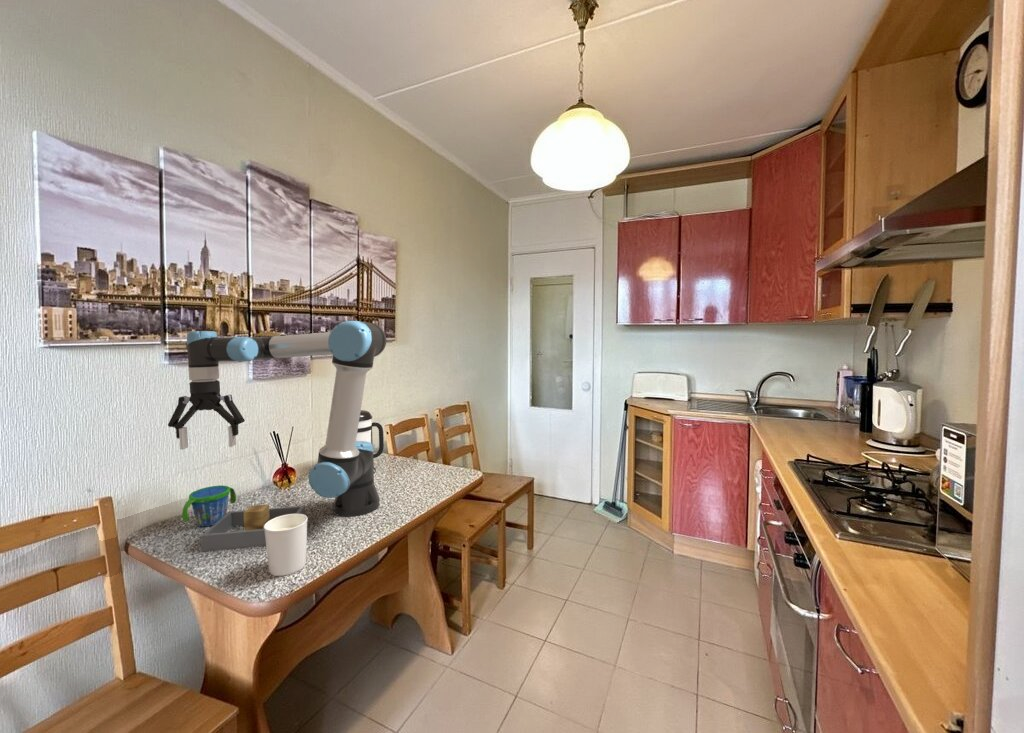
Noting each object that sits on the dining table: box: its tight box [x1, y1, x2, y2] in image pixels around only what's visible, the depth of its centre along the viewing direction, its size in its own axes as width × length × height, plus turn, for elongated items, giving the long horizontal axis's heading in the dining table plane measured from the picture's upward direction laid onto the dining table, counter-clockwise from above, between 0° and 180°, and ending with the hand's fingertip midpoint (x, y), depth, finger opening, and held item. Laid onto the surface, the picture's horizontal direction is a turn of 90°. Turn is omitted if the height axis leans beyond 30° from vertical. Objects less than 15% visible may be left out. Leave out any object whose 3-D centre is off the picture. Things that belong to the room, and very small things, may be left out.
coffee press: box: [356, 409, 385, 473], centre depth 176 cm, size 17×16×30 cm
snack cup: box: [181, 484, 237, 527], centre depth 128 cm, size 16×10×10 cm
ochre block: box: [243, 503, 270, 531], centre depth 120 cm, size 5×5×8 cm
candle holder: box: [264, 514, 309, 577], centre depth 103 cm, size 10×10×12 cm
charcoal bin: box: [200, 504, 306, 552], centre depth 121 cm, size 22×16×4 cm
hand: (208, 447), depth 127 cm, fingers open, 13 cm apart
